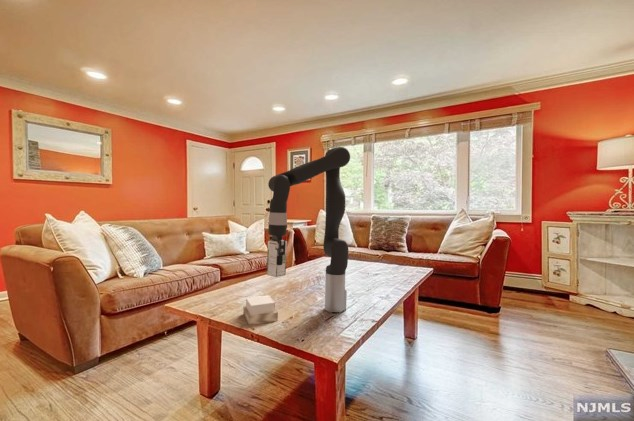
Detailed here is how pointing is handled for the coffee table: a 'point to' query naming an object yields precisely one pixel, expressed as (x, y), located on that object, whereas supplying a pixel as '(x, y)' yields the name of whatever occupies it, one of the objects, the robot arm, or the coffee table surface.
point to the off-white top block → (260, 305)
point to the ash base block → (260, 317)
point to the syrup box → (275, 260)
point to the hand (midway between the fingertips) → (276, 263)
